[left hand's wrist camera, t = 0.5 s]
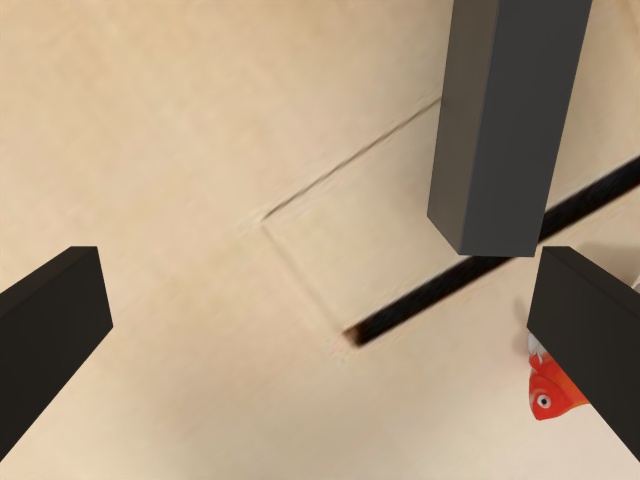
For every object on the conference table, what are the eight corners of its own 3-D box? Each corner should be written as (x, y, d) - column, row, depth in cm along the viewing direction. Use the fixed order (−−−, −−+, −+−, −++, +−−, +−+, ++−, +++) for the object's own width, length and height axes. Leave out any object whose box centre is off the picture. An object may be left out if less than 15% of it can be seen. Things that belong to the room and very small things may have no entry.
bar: (485, 218, 36) (534, 257, 28) (426, 216, 36) (458, 255, 28) (547, -135, 28) (644, -228, 19) (471, -138, 28) (535, -233, 19)
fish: (479, 332, 35) (605, 418, 27) (596, 223, 38) (736, 272, 31) (492, 396, 41) (596, 479, 34) (591, 298, 45) (705, 353, 37)
